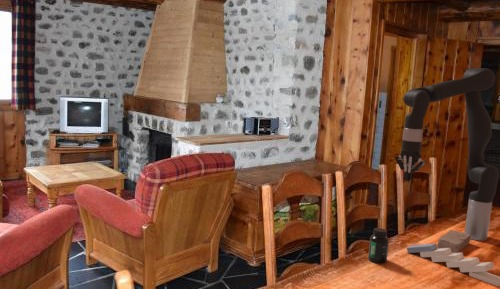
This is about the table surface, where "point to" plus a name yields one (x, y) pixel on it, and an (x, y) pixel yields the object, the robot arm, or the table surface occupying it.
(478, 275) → the tile
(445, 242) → the brick
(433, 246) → the tile
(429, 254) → the tile
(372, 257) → the supplement bottle
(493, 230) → the table surface
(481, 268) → the tile
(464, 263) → the tile
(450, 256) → the tile
